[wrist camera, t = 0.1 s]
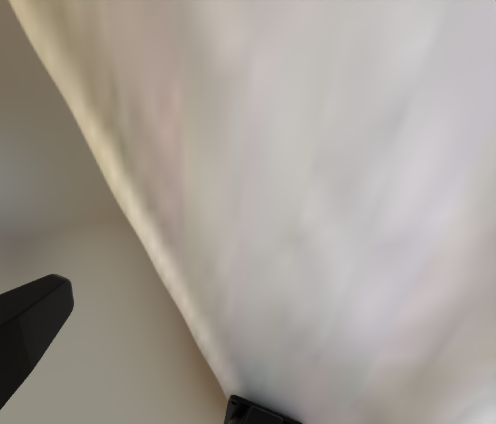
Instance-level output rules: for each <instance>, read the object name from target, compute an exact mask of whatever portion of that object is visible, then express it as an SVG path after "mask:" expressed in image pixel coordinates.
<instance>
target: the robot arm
mask: <svg viewBox="0 0 496 424" xmlns="http://www.w3.org/2000/svg"><path fill="white" fill-rule="evenodd" d="M73 306H74V299H73V292H72V285H71V281H70V280H69V279H67V278H65V277H62V276H60V275H58V274H50V275H47V276H45V277H42V278H40V279H37V280H35V281H32V282H30V283H27V284H25V285H22V286H20V287H17V288H15V289H12V290H10V291H8V292H5V293H3V294H0V410H1V408H2V407H3V406H4V405H5V403H6V402H7V401H8V400H9V399H10V397H11V396H12V395H13V394H14V392H15V391H16V390H17V389H18V388H19V386H20V385H21V384H22V383H23V382H24V380H25V379H26V378H27V377H28V375H29V374H30V373H31V372H32V370H33V369H34V367H35V366H36V364H37V363H38V362H39V360H40V359H41V357H42V356H43V354H44V353H45V351H46V350H47V348H48V347H49V345H50V344H51V342H52V341H53V339H54V338H55V336H56V335H57V333H58V332H59V330H60V329H61V327H62V326H63V324H64V323H65V322H66V320H67V319H68V317H69V316H70V314H71V312H72V310H73ZM224 424H302V423H300V422H298V421H295V420H293V419H291V418H288V417H286V416H283V415H281V414H279V413H276V412H274V411H272V410H269V409H267V408H265V407H262V406H260V405H258V404H255V403H253V402H251V401H248V400H246V399H243V398H241V397H239V396H236V395H231V396H230V399H229V401H228V406H227V411H226V416H225V421H224Z"/></svg>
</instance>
